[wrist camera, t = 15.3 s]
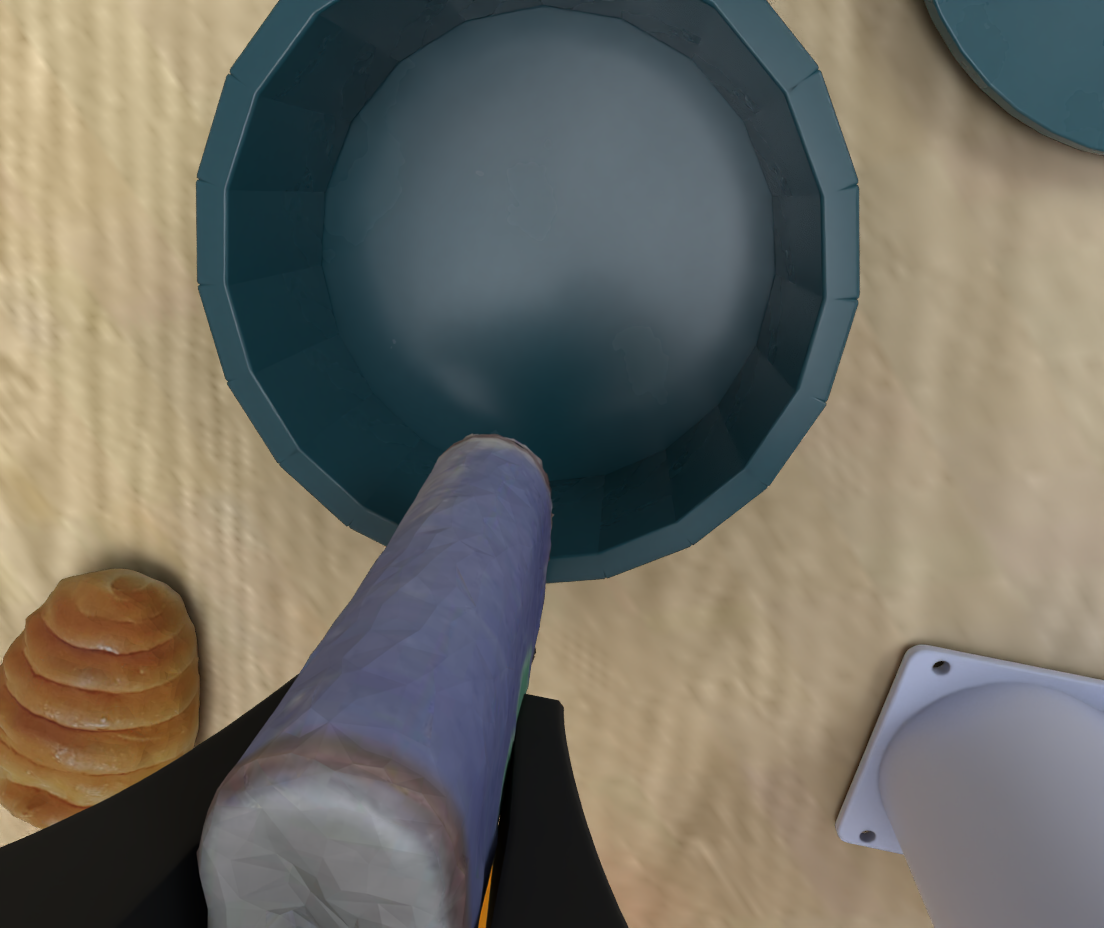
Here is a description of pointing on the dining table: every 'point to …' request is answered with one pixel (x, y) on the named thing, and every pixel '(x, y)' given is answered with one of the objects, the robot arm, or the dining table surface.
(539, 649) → the dining table surface
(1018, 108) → the lid
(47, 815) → the pastry
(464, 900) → the flask
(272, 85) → the pan
